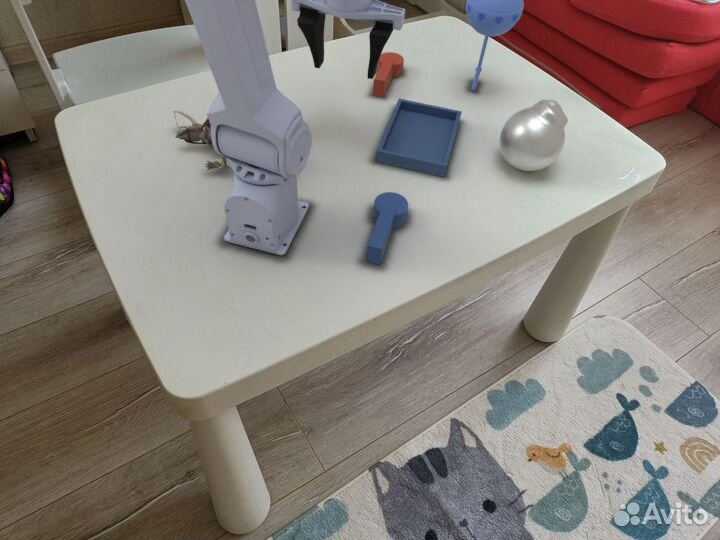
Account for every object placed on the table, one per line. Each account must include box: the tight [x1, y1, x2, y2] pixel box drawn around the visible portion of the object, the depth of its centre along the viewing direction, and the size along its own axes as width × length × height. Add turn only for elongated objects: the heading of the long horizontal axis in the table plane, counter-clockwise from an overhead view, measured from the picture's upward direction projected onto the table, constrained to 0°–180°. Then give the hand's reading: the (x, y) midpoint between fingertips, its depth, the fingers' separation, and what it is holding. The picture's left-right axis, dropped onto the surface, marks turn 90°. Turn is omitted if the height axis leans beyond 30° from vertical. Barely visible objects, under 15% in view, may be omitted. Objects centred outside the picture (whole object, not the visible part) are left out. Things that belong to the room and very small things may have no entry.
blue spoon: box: [365, 191, 409, 266], centre depth 65 cm, size 11×4×3 cm, turn 164°
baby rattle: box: [465, 0, 525, 91], centre depth 83 cm, size 9×9×18 cm
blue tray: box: [375, 98, 462, 178], centre depth 78 cm, size 14×10×2 cm
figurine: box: [172, 110, 227, 171], centre depth 75 cm, size 20×6×17 cm
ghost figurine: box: [499, 99, 569, 172], centre depth 73 cm, size 9×10×10 cm
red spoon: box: [372, 51, 405, 98], centre depth 88 cm, size 11×4×3 cm, turn 164°
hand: (345, 69), depth 72 cm, fingers open, 7 cm apart
